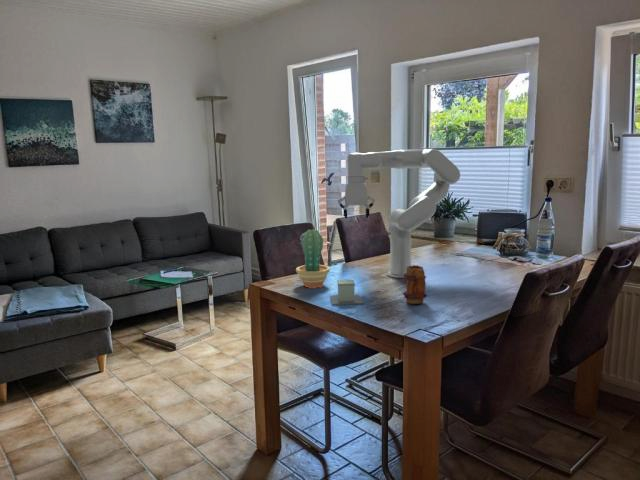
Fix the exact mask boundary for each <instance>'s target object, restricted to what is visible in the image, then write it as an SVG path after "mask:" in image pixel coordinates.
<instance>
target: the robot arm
mask: <svg viewBox="0 0 640 480" xmlns="http://www.w3.org/2000/svg"><path fill="white" fill-rule="evenodd" d="M385 168H386V169H387V168H388V169H398V170H400V169H401V170H402V169H422V168H423V169H425V168H427V169H428V168H430V169H431V170H432V171H433V181H432V183H431V185H430V186H429V187H427V189H425V190H423V191H422V192H421V193H420V194H418V195H417V196H415V197H413V198H412V199H411V201H410V202H409V204H408V208H406V209H404V208H396V209H394V210H393V211H392V212H391V213H390V215H389V225H388V226H389V234H390V243H389V244H390V245H389V246H390V250H389V251H390V252H389V253H390V262H389V263H390V265H389V266H390V269H389V271H387V272H386V275H387V277H391V278H395V279H396V278H397V279H398V278H400V279H405V277H404V274H406V273H407V266H412V265H411V264H412V261H411V260H412V259H411V258H412V256H411V255H412V231H413V230H416V229H417V228H418V227H420V226H421V225H423V224H424V223H426V221H429V219H431V218H432V217H433V216H434V214H435V213H436V211H437V205H438V204H440V203H441V202H442V201H443V200H444V199H445V198H446V196H447V195H448V193H449V189H450V185H454V184H456V183H458V182H459V180H460V178H461V171H460V169H459V167H457V166H456V164H455V163H453V162H452V160H450V159H449V158H448V157H447V156H446V155H445V154H444V153H442V152H441V151H440V150H439V149H436V148H420V149H419V148H418V149H415V148H414V149H398V150H392V151H391V150H390V151H378V152H377V151H375V152H374V151H370V152H369V151H368V152H366V153H362V152H352V153H349V154H348V155H347V183H346V184H345V190H344V196H342V197H341V198H338V199H337V204H338V205H339V207H340V208H342V210H343V217H344V218H345V219H348V210H347V209H348V207H349V206H364V207H365V218H367V219H368V218H369V217H370V209H371V208H372V207H373V206H374V204H375V202H376V199H375V198H373V197H371V196H369V195H368V187H367V183H366V181H368V177H366V176H365V169H369V170H375V169H385ZM368 200H370V203H369V201H368ZM343 201H344V203H345V204H344V205H343V203H342V202H343ZM368 203H369V204H368Z"/></svg>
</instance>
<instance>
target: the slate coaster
mask: <svg viewBox="0 0 640 480" xmlns="http://www.w3.org/2000/svg"><path fill="white" fill-rule="evenodd" d="M330 298H331V299H330ZM329 299H330V303H331V302H332V303H331V306H332V305H336V306H354V305H355V306H357V305H358V306H359V305H360V306H361V305H364V301H363V300H362V298H361V295H360V294H355V301H342V302H339V299H338V294H337V295H336V294H335V295H334V294H333V295H329Z"/></svg>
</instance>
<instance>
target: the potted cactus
mask: <svg viewBox="0 0 640 480" xmlns="http://www.w3.org/2000/svg"><path fill="white" fill-rule="evenodd" d="M299 241H300V245H302V250H303V253H304V265H300V266H297V267H295V268H296V269H295V271H296V273H297V275H298V277H299V280H300V281H301V282H302V284H303V287H304V286H305V287H309V288H308V289H318V288H317V287H320V288H323V287H324V282H325V281H326V280H327V276H328V274H329V273H330V269H331V267H330V266H328V265H325V264H321V254H322V251H323V247H324V239H323V236H322V234H320V232H319V231H318V230H317V229H314V228H313V229H307V231H305V232H304V233H302V234H301V235H300V237H299ZM322 286H323V287H322ZM305 287H304V288H305Z"/></svg>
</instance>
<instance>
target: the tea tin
mask: <svg viewBox="0 0 640 480" xmlns="http://www.w3.org/2000/svg"><path fill="white" fill-rule="evenodd" d="M336 282H337V295H338V299H339V302H342V301H355V295H356V294H355V292H356V291H355V285H356V284H355V280H354V279H338V280H337V281H336Z"/></svg>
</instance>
